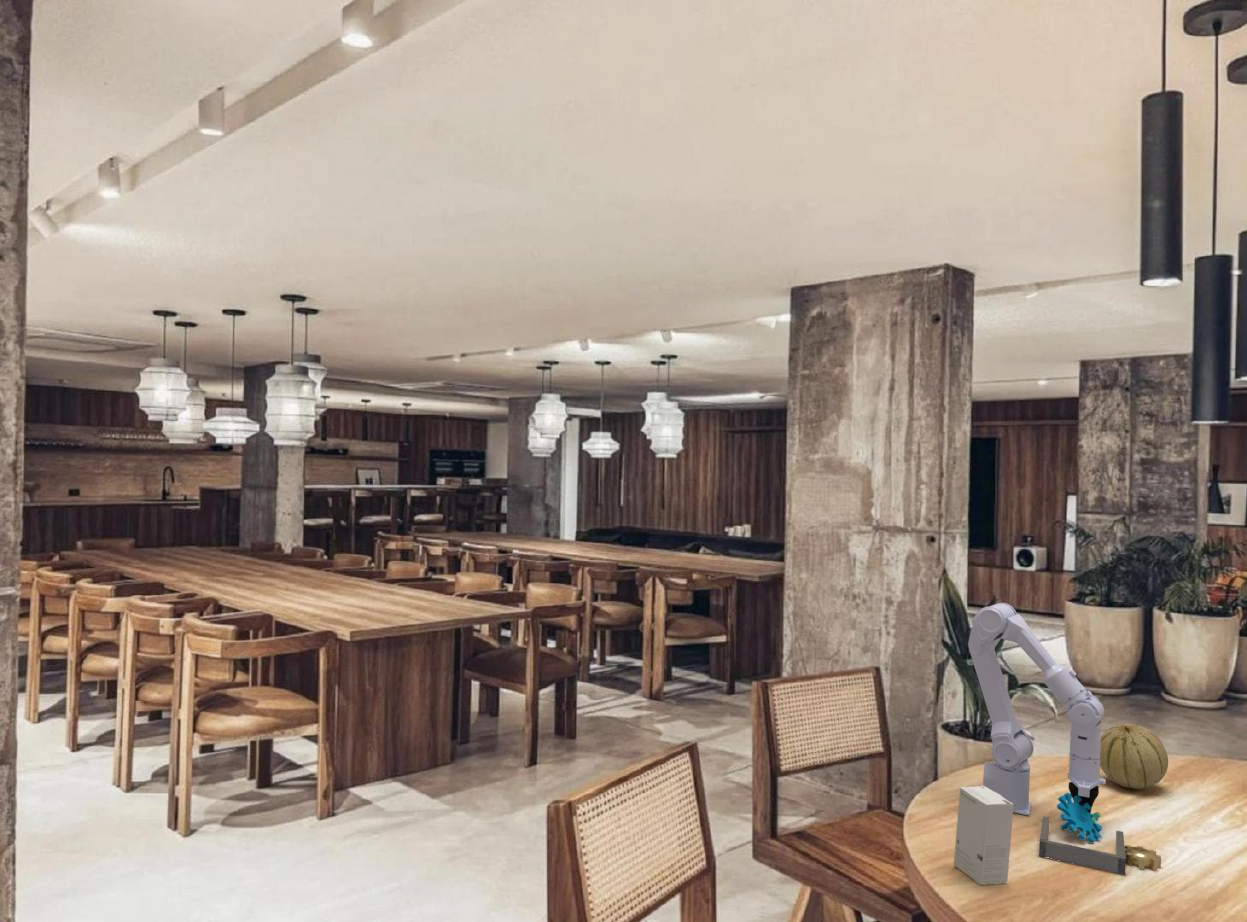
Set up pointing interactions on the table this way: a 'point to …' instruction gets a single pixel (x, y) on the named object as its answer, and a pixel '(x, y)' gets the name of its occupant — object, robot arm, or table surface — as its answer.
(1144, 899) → the table surface
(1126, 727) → the cantaloupe
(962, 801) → the skincare box
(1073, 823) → the gear
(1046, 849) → the bracket
